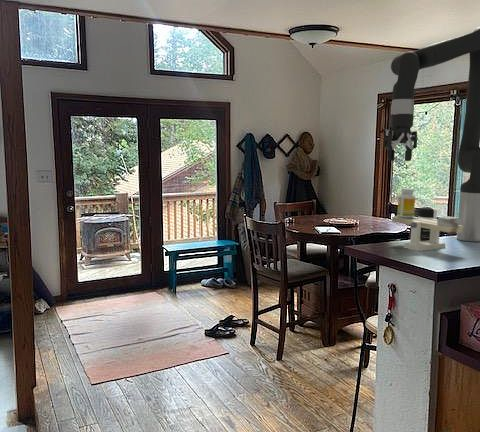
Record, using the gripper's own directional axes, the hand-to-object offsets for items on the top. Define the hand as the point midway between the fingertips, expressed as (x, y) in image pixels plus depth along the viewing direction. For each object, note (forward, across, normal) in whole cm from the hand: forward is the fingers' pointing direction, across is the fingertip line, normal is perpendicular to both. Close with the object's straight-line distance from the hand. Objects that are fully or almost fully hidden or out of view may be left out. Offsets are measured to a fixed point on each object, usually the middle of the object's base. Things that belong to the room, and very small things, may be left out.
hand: (399, 160), depth 168 cm
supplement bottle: (+19, +2, +6) cm, 20 cm away
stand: (+28, +2, +14) cm, 31 cm away
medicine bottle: (+28, -9, +6) cm, 30 cm away
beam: (+20, +2, +14) cm, 25 cm away
